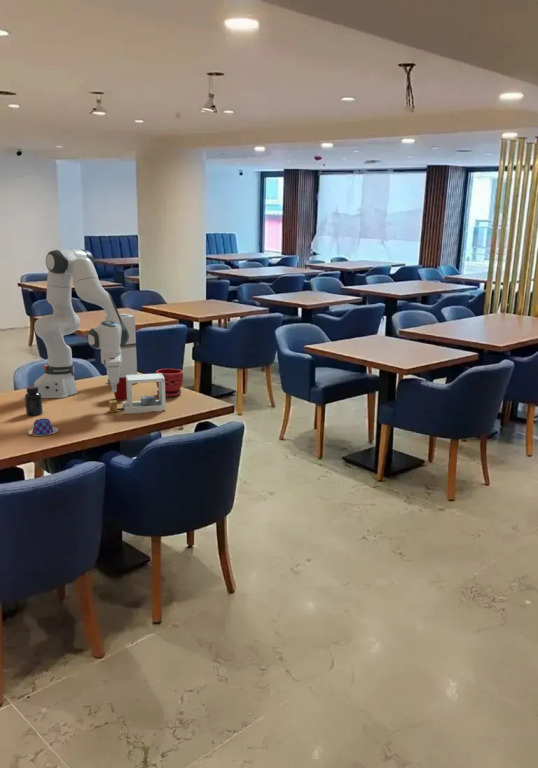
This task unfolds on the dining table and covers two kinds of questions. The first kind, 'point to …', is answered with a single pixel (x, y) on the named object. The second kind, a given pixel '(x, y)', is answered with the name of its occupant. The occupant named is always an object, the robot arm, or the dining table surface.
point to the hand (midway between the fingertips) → (113, 389)
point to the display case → (128, 346)
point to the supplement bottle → (33, 401)
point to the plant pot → (171, 386)
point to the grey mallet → (144, 402)
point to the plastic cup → (121, 387)
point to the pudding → (43, 427)
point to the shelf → (136, 406)
